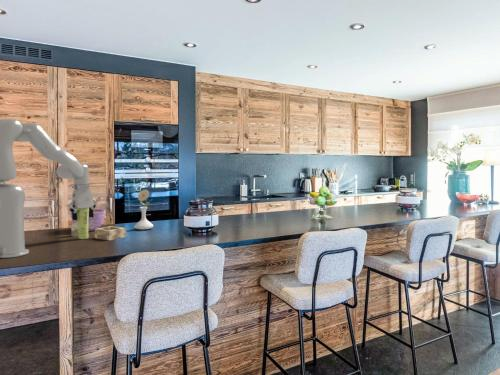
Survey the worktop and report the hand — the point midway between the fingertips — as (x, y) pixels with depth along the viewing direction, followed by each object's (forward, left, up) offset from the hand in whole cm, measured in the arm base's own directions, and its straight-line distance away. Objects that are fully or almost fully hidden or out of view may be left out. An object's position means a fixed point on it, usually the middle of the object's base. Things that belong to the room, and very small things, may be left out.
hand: (83, 218), depth 193 cm
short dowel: (+2, +10, -11) cm, 15 cm away
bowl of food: (+17, +20, -11) cm, 28 cm away
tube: (-1, 0, -11) cm, 11 cm away
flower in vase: (+36, -8, -11) cm, 39 cm away
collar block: (+9, -11, -11) cm, 18 cm away
